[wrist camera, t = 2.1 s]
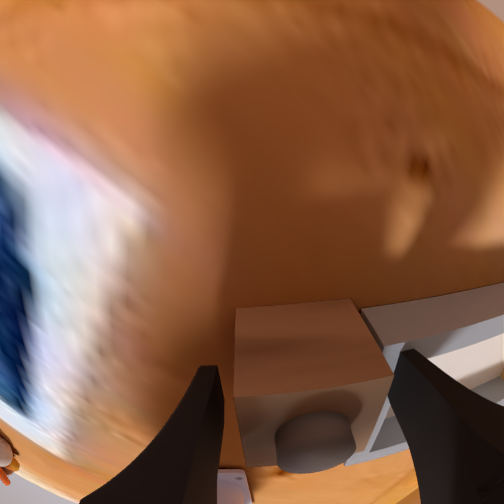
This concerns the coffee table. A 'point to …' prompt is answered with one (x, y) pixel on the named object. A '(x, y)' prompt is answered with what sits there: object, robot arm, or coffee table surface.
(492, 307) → the tray
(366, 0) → the coffee table surface
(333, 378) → the block with grey knob
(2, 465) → the rainbow flower
